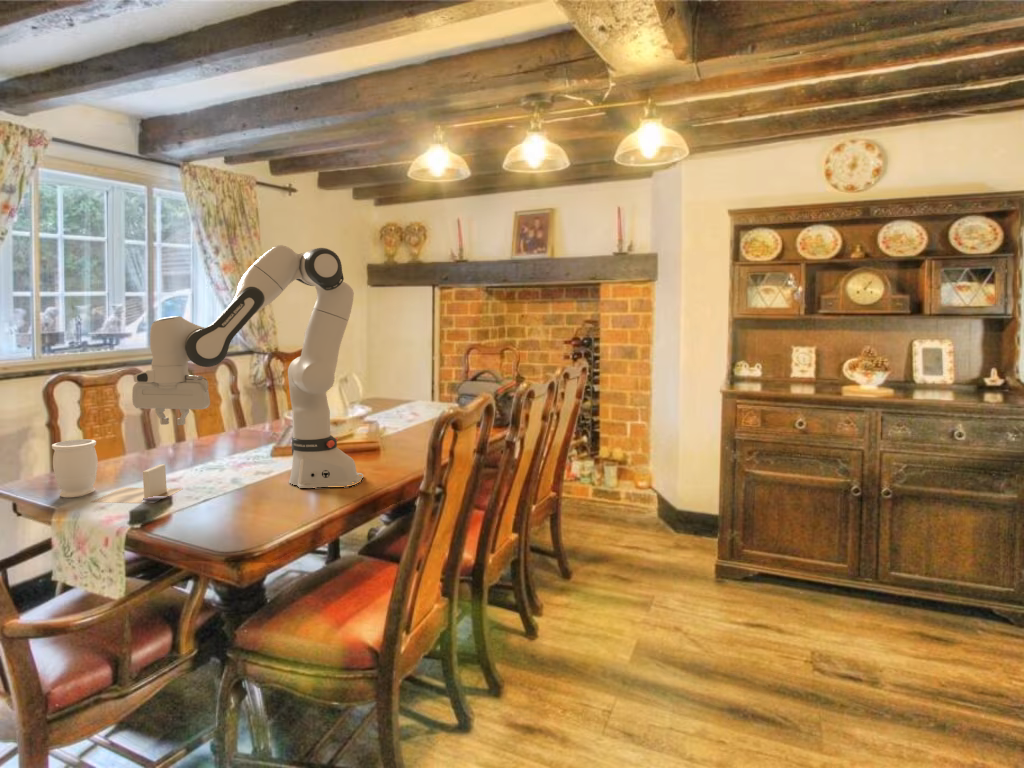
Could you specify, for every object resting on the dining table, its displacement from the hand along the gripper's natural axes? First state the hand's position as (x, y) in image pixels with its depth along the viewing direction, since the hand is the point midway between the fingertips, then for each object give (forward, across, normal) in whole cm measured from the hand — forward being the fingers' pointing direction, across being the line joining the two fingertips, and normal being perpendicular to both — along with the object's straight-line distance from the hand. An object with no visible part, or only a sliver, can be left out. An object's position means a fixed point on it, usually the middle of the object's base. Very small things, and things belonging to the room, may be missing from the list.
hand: (173, 424), depth 174 cm
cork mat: (+21, +11, 0) cm, 24 cm away
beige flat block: (+20, +6, 0) cm, 21 cm away
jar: (+21, +30, -2) cm, 37 cm away
